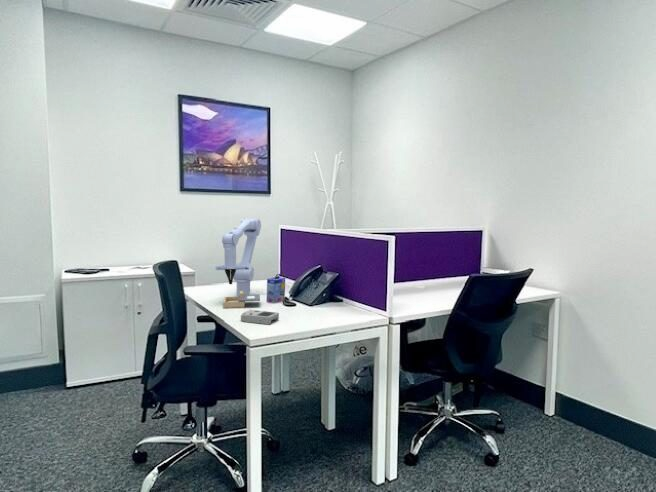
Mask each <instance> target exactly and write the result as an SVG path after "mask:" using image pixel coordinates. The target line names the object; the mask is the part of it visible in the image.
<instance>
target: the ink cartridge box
mask: <svg viewBox="0 0 656 492" xmlns="http://www.w3.org/2000/svg"><path fill="white" fill-rule="evenodd" d="M284 298H286V277H285V276H284V277H283V276H281V273H278V274H276V275H275V277H270V278H267V279H266V303H271V304H276V303H279V302H280V303H281V302H282V300H283V299H284ZM283 301H284V300H283Z"/></svg>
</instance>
